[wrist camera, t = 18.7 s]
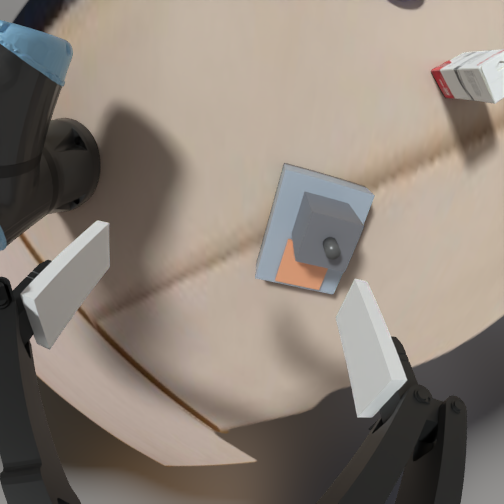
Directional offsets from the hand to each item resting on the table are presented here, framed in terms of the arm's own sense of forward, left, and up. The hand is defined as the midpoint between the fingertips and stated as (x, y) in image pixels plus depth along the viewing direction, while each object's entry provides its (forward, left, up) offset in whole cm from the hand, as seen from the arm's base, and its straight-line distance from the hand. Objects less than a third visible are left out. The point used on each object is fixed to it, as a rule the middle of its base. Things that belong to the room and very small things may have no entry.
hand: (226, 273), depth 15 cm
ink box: (+25, +23, -27) cm, 43 cm away
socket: (+10, -7, -27) cm, 29 cm away
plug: (+10, -4, -26) cm, 28 cm away
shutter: (+10, -11, -22) cm, 27 cm away
